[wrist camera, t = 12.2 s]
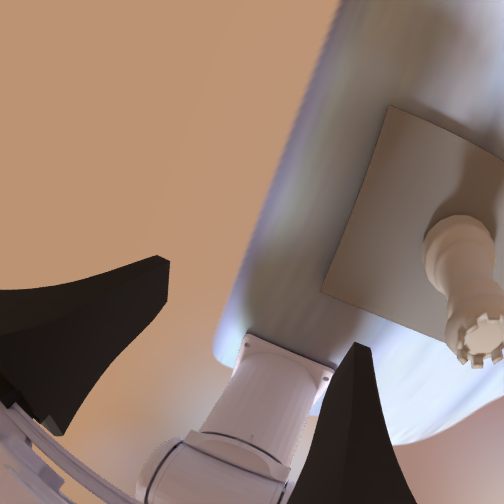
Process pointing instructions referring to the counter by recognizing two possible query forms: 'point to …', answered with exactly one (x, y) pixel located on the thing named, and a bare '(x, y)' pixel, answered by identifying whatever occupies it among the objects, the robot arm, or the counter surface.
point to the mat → (413, 220)
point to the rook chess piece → (467, 287)
